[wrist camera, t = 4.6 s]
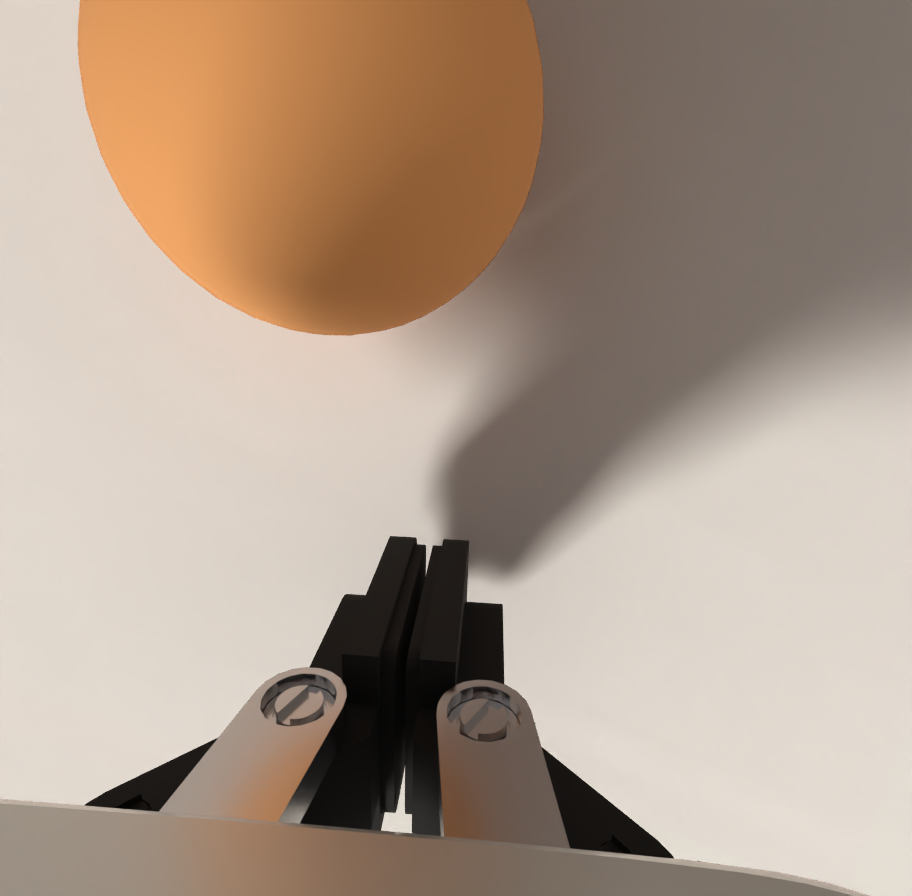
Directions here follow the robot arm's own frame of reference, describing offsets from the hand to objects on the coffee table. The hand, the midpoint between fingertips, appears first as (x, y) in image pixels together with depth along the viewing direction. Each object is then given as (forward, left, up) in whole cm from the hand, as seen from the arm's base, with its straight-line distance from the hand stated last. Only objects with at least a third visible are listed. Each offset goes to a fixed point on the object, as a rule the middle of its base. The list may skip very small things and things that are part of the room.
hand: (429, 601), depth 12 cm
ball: (+1, -9, +2) cm, 9 cm away
